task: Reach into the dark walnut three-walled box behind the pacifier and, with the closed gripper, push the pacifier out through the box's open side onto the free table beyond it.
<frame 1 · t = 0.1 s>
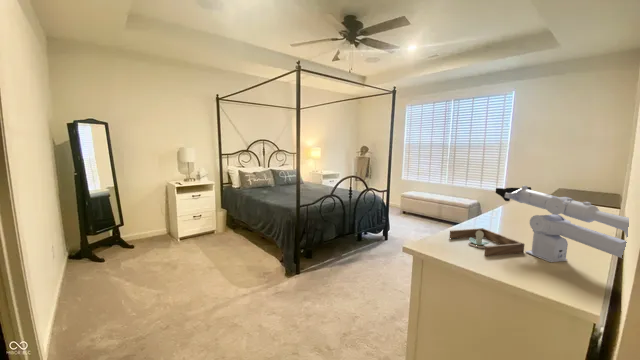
hand: (503, 190, 117), 22 cm above the dresser top, tool horizontal, fingers open, 7 cm apart
open box: (483, 244, 112), on the dresser top
pacifier: (477, 246, 112), on the dresser top
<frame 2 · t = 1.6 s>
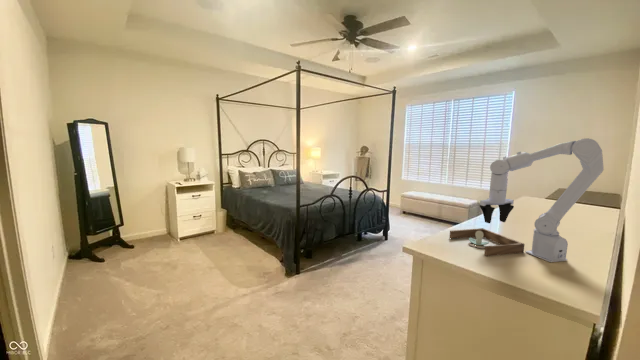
hand: (495, 222, 112), 9 cm above the dresser top, tool pointing down, fingers open, 7 cm apart
nothing on the dresser top moved.
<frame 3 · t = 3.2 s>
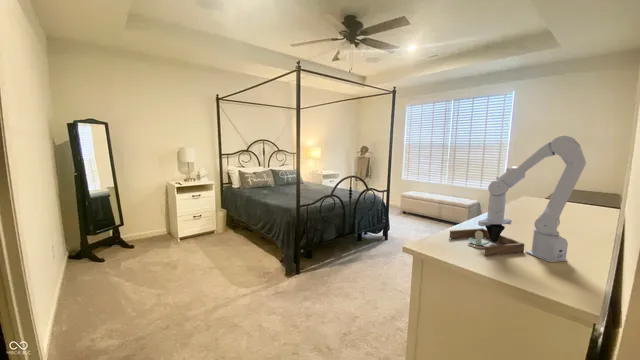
hand: (493, 241, 113), 1 cm above the dresser top, tool pointing down, fingers closed
nothing on the dresser top moved.
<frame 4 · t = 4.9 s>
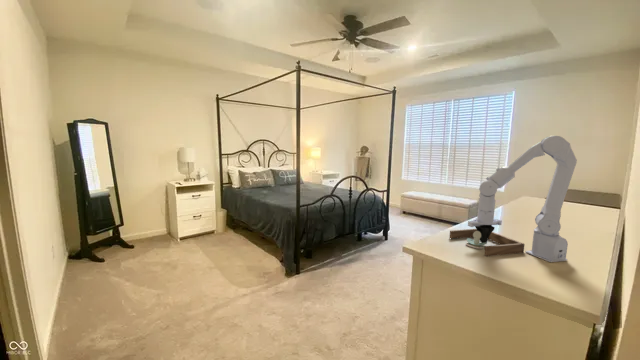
hand: (483, 242, 112), 1 cm above the dresser top, tool pointing down, fingers closed
pacifier: (475, 247, 111), on the dresser top, touching gripper
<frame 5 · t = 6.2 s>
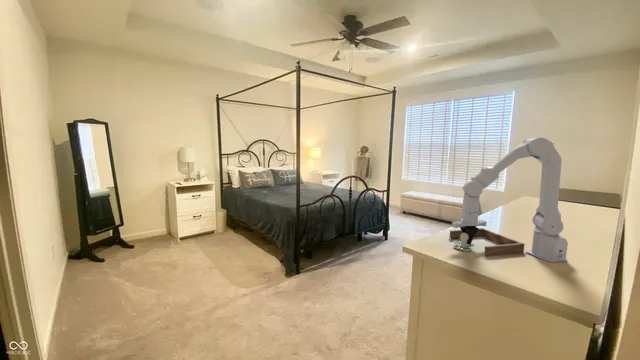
hand: (467, 243, 110), 1 cm above the dresser top, tool pointing down, fingers closed
pacifier: (462, 249, 108), on the dresser top, touching gripper
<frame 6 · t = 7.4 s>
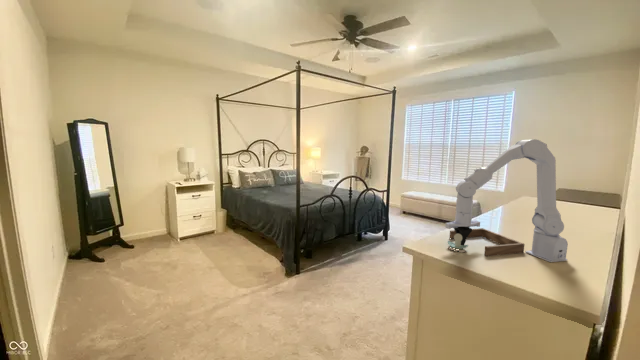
hand: (461, 244, 110), 1 cm above the dresser top, tool pointing down, fingers closed
pacifier: (456, 250, 107), on the dresser top, touching gripper
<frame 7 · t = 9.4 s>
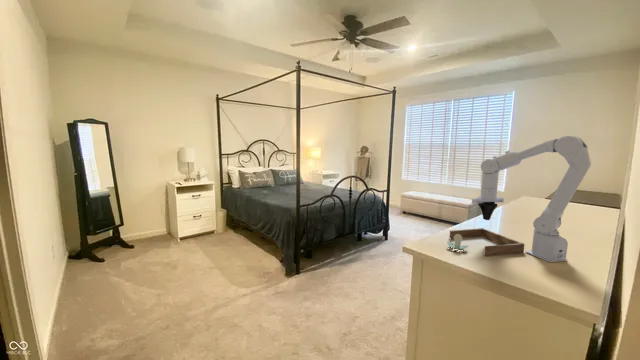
hand: (486, 219, 116), 9 cm above the dresser top, tool pointing down, fingers closed
pacifier: (456, 250, 107), on the dresser top
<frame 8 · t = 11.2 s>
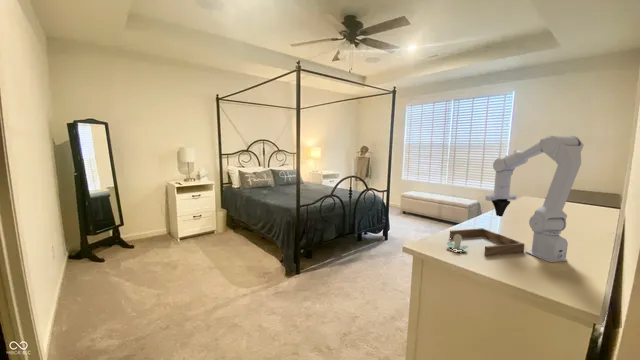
hand: (499, 215, 122), 9 cm above the dresser top, tool pointing down, fingers closed
nothing on the dresser top moved.
at the end: pacifier inside the target area (3.2 cm from its centre), on the dresser top; the gripper is holding nothing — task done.
